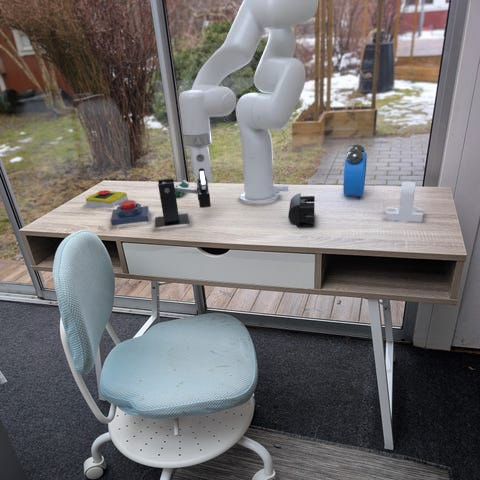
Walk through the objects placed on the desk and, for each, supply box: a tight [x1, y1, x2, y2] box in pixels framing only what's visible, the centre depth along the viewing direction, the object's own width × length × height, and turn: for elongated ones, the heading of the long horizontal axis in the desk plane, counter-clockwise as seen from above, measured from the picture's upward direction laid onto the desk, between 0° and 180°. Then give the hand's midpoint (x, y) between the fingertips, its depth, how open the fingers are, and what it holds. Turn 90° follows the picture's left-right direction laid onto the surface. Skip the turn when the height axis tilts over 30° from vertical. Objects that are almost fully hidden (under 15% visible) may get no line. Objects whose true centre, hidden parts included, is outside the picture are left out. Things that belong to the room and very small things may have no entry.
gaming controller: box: [175, 179, 190, 197], centre depth 164 cm, size 9×4×6 cm
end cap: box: [288, 192, 316, 229], centre depth 135 cm, size 10×7×7 cm
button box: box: [110, 202, 150, 226], centre depth 146 cm, size 11×9×4 cm
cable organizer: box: [384, 181, 425, 223], centre depth 131 cm, size 5×10×10 cm, turn 70°
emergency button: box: [83, 189, 129, 210], centre depth 160 cm, size 9×4×15 cm
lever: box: [162, 182, 199, 195], centre depth 138 cm, size 13×6×2 cm, turn 98°
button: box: [121, 199, 137, 210], centre depth 144 cm, size 4×4×2 cm
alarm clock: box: [342, 143, 368, 200], centre depth 148 cm, size 13×6×15 cm, turn 164°
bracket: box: [154, 177, 190, 228], centre depth 139 cm, size 10×8×13 cm
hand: (204, 202), depth 140 cm, fingers closed on lever, 5 cm apart
